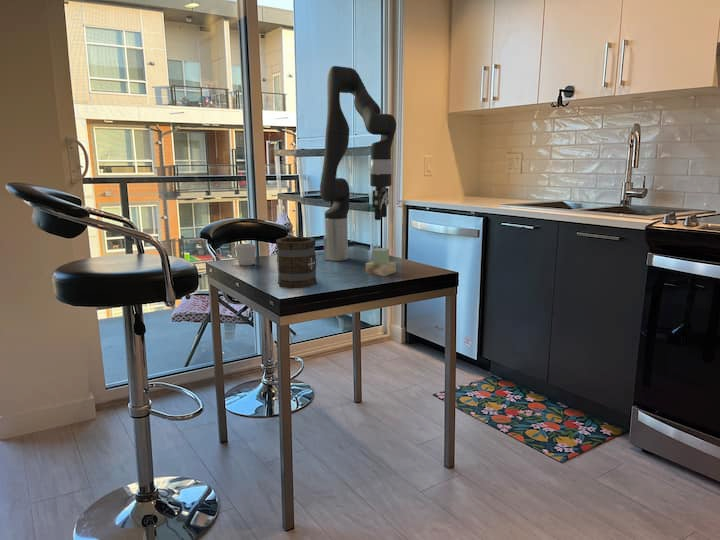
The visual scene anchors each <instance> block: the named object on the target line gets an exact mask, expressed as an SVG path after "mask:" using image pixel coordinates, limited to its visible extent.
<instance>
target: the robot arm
mask: <svg viewBox="0 0 720 540" xmlns="http://www.w3.org/2000/svg"><path fill="white" fill-rule="evenodd" d="M326 85H327V88H326V89H327V90H326V93H327V112H326V113H327V114H326V116H327V117H326V127H325V138H324V139H325V140H324V142H325V143H324V156H323V157H324V158H323V165H322V172H321V177H320V183H319V184H320V185H319V192H320V197H321V199H322V201H324V202H328V203H329V202H332V205H331V206H330V207H329V208H328V209H326V210H325V212H324V230H325V231H324V235H325V236H323V260H327V261H332V262H333V261H334V262H335V261H336V262H337V261H339V262H341V261H347V260H348V259H349V243H348V239H349V238H348V235H349V234H348V233H349V232H348V229H349V227H348V213H349V211H350V193H351V192H350V186H349V183H348V181H347V180H346V179H345V178H342V177H337V173H338V172H337V171H338V168H339V166H340V163H341V161H342V159H343V157H344V155H345V153H347V150H348V147H349V143H350V142H349V141H350V126H349V123H348V121H347V119H346V117H345V115H344V112H343V110H342V107H341V101H340V100H341V99H340V98H341V97H340V95H341V93H343V94H351V95H352V96H353V97H354V101H353V104H354V108H355V110H356V111H357V113H358V114H359V115H360V116H361V118H362V120H363V123H364V127H365V129H366V131H367V133H369V134H371V135H374V136H378V135H379V136H381V138H380V140H379V141H375V142H373V143H371V146H370V165H369V167H370V168H369V172H370V173H369V176H370V181H369V182H370V183H369V184H370V187H375V190H372V205H371V206H372V208H373V210H374V220H375V221H380V220H382V218H386V217H387V216H388V215H387V213H388V212H387V211H388V209H387V207H388V205H389V203H390V202H389V200H390V199H389V190H390V189H389V188H388V187H392V169H393V168H392V146H393V142H394V138H395V134H396V130H397V120H396V119H395V116H394V115H393V114H390V113H381V112H382V111H381V107H380V106H379V104H378V103H377V101H375V100H374V99H373V98H372V96H371V95H370V94H369V92H368V91H367V89H366V86H365V84H364V83H363V80H362V79H361V76H360V75H359V73H358V72H357V70H356V69H354V68H353V67H346V66H339V65H333V66H331V67H330V68H329V70H328V74H327V83H326Z"/></svg>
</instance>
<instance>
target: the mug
mask: <svg viewBox="0 0 720 540" xmlns="http://www.w3.org/2000/svg"><path fill="white" fill-rule="evenodd" d="M275 241H276V243H275V244H276V251H277V252H276V253H277V256H276V263H277V264H276V265H277V275H278V276H277V278H278V279H277V285H278V284H279V285H278V286H279V288H285V289H304V288H305V289H306V287H307V288H311V287H313V286H316V285H317V284H318V283H317V272H316V271H317V257H316V241H317V240H316V239H315V238H314V237H309V236H308V237H307V236H291V237H290V236H288V237H287V236H286V237H282V238H278V239H275ZM310 286H311V287H310Z"/></svg>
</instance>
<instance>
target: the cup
mask: <svg viewBox="0 0 720 540" xmlns="http://www.w3.org/2000/svg"><path fill="white" fill-rule="evenodd" d="M256 250H257V245H256V244H255V243H239V244H236V245H235V246H234V247H232V248H231V250H230V253H231V256H232V258H233V259H236V260H237V263H238V265H239V266H243V267H247V266H252V265H254V264H255V263H256V254H257V251H256ZM235 253H236V255H235Z"/></svg>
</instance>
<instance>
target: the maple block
mask: <svg viewBox="0 0 720 540" xmlns="http://www.w3.org/2000/svg"><path fill="white" fill-rule="evenodd" d="M394 273H397V262H396V261H390V260H389V262H388V263H387V264H386V265H385V264H373V261H370V262H366V263H365V274H368V275H373V276H374V275H375V276H381V277H382V276H383V277H385V276H388V275H392V274H394Z"/></svg>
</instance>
